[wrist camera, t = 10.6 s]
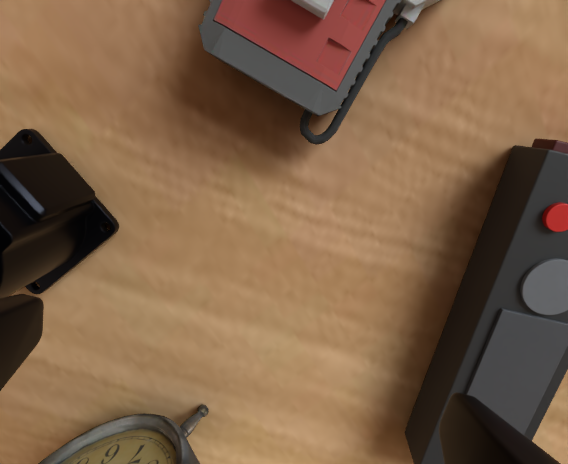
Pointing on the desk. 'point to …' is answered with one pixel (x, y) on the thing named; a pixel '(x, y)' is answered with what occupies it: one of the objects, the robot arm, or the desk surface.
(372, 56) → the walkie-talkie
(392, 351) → the desk surface
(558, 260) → the remote
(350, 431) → the desk surface
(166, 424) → the alarm clock
